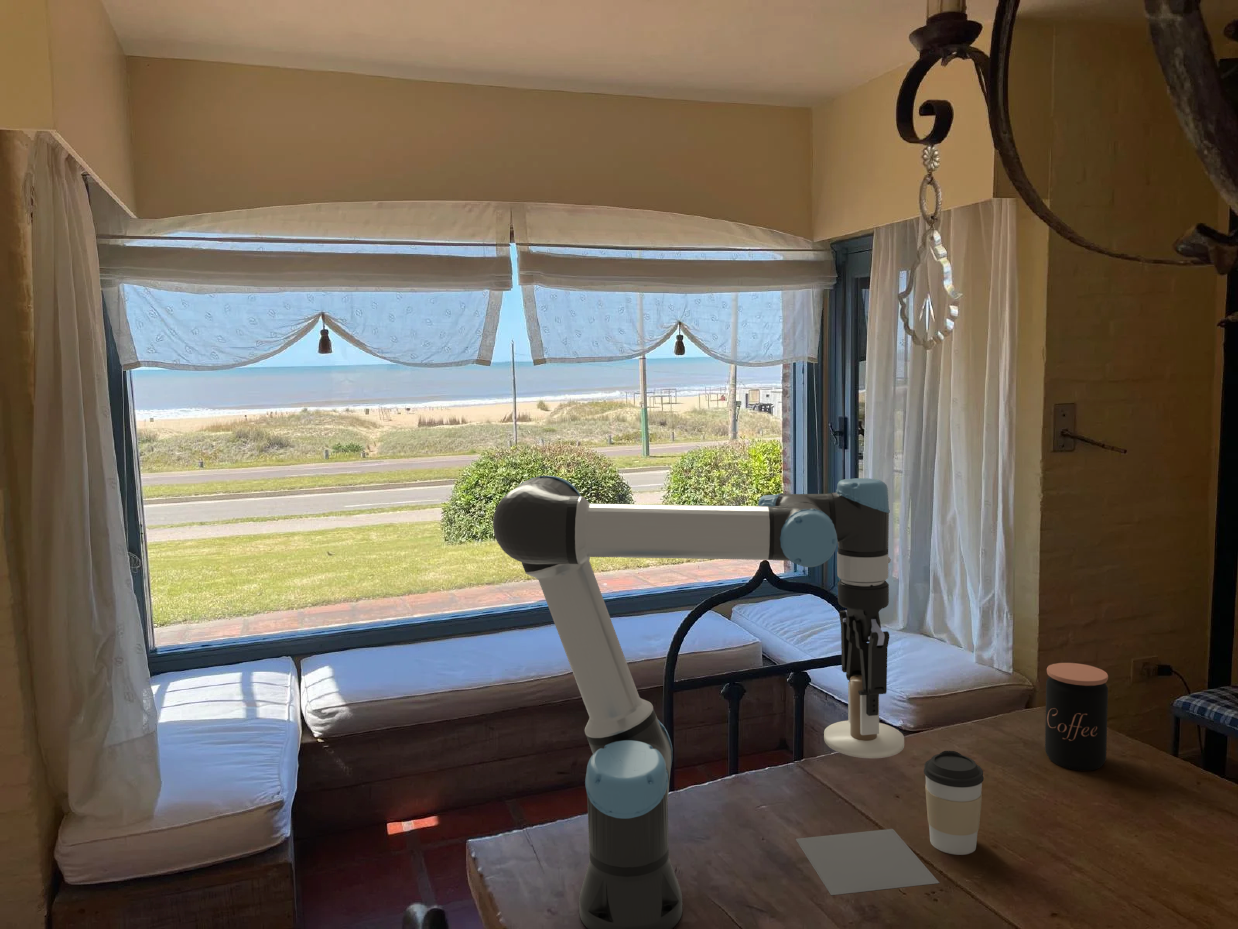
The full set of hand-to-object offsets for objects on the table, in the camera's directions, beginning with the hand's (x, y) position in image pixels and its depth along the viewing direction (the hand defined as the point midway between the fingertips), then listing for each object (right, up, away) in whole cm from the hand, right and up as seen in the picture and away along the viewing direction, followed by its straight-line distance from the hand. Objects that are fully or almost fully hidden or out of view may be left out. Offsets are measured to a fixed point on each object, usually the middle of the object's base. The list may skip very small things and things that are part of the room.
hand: (863, 727), depth 136 cm
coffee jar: (+52, -18, +36) cm, 65 cm away
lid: (0, -2, 0) cm, 2 cm away
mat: (+1, -22, +2) cm, 23 cm away
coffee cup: (+16, -22, +6) cm, 28 cm away
